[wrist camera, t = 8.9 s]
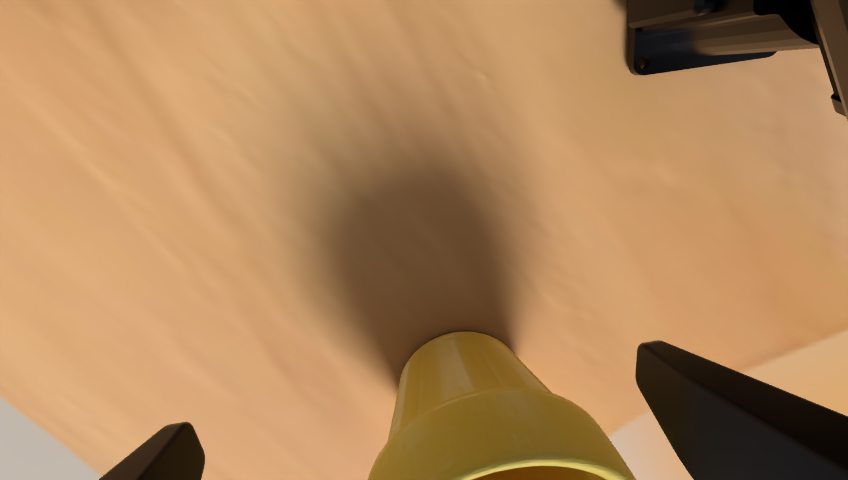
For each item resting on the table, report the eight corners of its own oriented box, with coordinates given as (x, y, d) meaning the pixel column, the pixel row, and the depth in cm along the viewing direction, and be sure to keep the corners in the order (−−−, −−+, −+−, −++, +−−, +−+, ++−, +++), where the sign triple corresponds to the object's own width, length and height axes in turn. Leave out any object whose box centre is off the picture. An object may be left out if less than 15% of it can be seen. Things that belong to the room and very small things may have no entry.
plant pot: (570, 414, 25) (679, 605, 16) (409, 473, 25) (425, 693, 16) (523, 269, 21) (632, 411, 12) (335, 342, 22) (304, 532, 13)
